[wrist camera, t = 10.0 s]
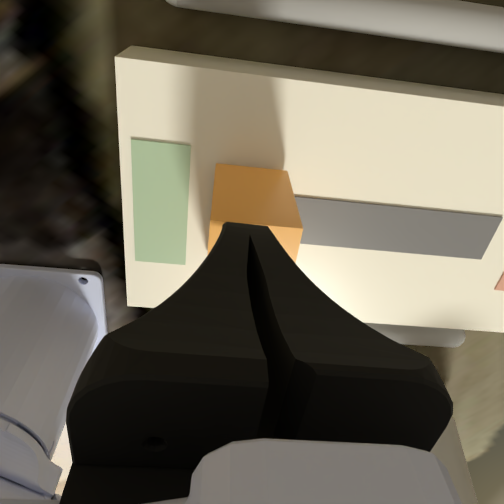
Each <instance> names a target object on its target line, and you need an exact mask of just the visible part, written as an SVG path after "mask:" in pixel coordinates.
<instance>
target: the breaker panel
mask: <svg viewBox="0 0 504 504" xmlns="http://www.w3.org/2000/svg"><path fill="white" fill-rule="evenodd" d="M115 74H116V93H117V113H118V132H119V151H120V171H121V190H122V209H123V229H124V248H125V268H126V287H127V306H136V307H150V308H155V307H157V306H158V305H160V304H161V303H162V302H163V301H165V300H166V299H167V298H168V297H170V296H171V295H172V294H173V293H174V292H175V291H177V290H178V289H179V288H180V287H181V286H182V285H183V284H184V283H185V282H186V281H187V280H188V279H189V278H190V277H191V276H192V275H193V273H194V272H195V271H196V270H197V269H198V267H199V266H200V265H201V264H202V262H203V261H204V260H205V258H206V257H207V254H208V241H209V229H210V217H211V207H212V197H213V187H214V176H215V166H216V163H219V164H229V165H238V166H248V167H257V168H266V169H276V170H285V171H288V175H289V179H290V182H291V186H292V190H293V193H294V197H295V200H296V204H297V208H298V211H299V215H300V219H301V222H302V226H303V232H302V237H301V241H300V245H299V250H298V254H297V259H296V265H297V266H298V267H299V268H300V269H301V270H302V271H303V272H304V274H305V275H306V276H307V277H308V278H309V279H310V280H311V281H312V282H313V283H314V284H315V285H316V286H317V287H318V288H319V289H320V290H322V291H323V292H324V293H325V294H326V295H327V296H328V297H330V298H331V299H332V300H333V301H334V302H336V303H337V304H338V305H339V306H341V307H342V308H343V309H345V310H346V311H347V312H349V313H350V314H352V315H353V316H354V317H356V318H357V319H359V320H360V321H362V322H363V323H378V324H392V325H406V326H420V327H435V328H449V329H463V330H477V331H491V332H504V94H498V93H491V92H483V91H475V90H468V89H460V88H453V87H445V86H437V85H430V84H422V83H415V82H407V81H399V80H392V79H384V78H376V77H369V76H361V75H354V74H346V73H338V72H331V71H323V70H316V69H308V68H300V67H293V66H285V65H278V64H270V63H262V62H255V61H247V60H240V59H232V58H224V57H217V56H209V55H202V54H194V53H186V52H179V51H171V50H164V49H156V48H148V47H141V46H133V45H131V46H130V47H128V48H127V49H125V50H124V51H122V52H121V53H119V54H118V55H116V56H115Z"/></svg>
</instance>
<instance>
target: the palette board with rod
mask: <svg viewBox="0 0 504 504" xmlns="http://www.w3.org/2000/svg"><path fill="white" fill-rule="evenodd" d="M165 1H166V2H168V3H169V4H171V5H173V6H176V7H181V8H188V9H195V10H202V11H209V12H216V13H223V14H230V15H237V16H244V17H251V18H258V19H265V20H272V21H279V22H286V23H293V24H300V25H307V26H314V27H322V28H329V29H336V30H343V31H350V32H357V33H364V34H371V35H378V36H385V37H392V38H399V39H406V40H413V41H420V42H427V43H434V44H441V45H448V46H455V47H462V48H469V49H476V50H484V51H491V52H498V53H504V7H499V6H492V5H486V4H479V3H473V2H466V1H460V0H165ZM365 324H366V325H368V326H369V327H371V328H373V329H374V330H376V331H378V332H380V333H381V334H383V335H385V336H386V337H388V338H390V339H392V340H393V341H395V342H397V343H399V344H407V345H422V346H438V347H458V346H460V345H461V344H462V343H463V342H464V340H465V332H464V330H463V329H449V328H435V327H420V326H406V325H392V324H378V323H365Z"/></svg>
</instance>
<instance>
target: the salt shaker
mask: <svg viewBox="0 0 504 504" xmlns="http://www.w3.org/2000/svg"><path fill="white" fill-rule="evenodd" d="M430 453H433V454H434V455H435V456H436V457H437V458H438V459H439V460H440V461H441V462H442V463H443V465H444V466H445V467H446V468H447V470H448V472H449V475H450V477H451V479H452V482H453V484H454V486H455V488H456V491H457V493H458V495H459V498H460V500H461V502H462V504H478V502H477V498H476V495H475V491H474V488H473V484H472V480H471V477H470V474H469V470H468V466H467V463H466V459H465V456H464V452H463V449H462V445H461V442H460V438H459V434H458V431H457V427H456V423H455V420H454V419H453V417H451V419H450V421H449V423H448V426H447V427H446V429H445V430H444V432H443V433H442V435H441V436H440V438H439V439H438V441H437V442H436V444H435V445H434V447H433V448H432V450H431V451H430Z"/></svg>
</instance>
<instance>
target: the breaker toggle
mask: <svg viewBox="0 0 504 504" xmlns="http://www.w3.org/2000/svg"><path fill="white" fill-rule="evenodd" d="M225 222H235V223H244V224H253V225H263V226H268V227H269V229H270V230H271V231H272V233H273V234H274V236H275V237H276V238H277V240H278V241H279V243H280V244H281V245H282V247H283V248H284V249H285V251H286V252H287V253H288V255H289V256H290V257H291V259H292V260H293V261H294V262H295V263H296V259H297V254H298V250H299V245H300V241H301V237H302V232H303V226H302V222H301V219H300V215H299V211H298V208H297V204H296V200H295V197H294V193H293V190H292V186H291V182H290V179H289V175H288V171H285V170H276V169H266V168H257V167H248V166H238V165H229V164H219V163H216V166H215V176H214V187H213V197H212V207H211V217H210V229H209V241H208V254H209V253H210V251H211V249H212V248H213V246H214V245H215V243H216V241H217V239H218V237H219V235H220V233H221V230H222V225H223V224H224V223H225ZM208 254H207V256H208Z"/></svg>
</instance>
